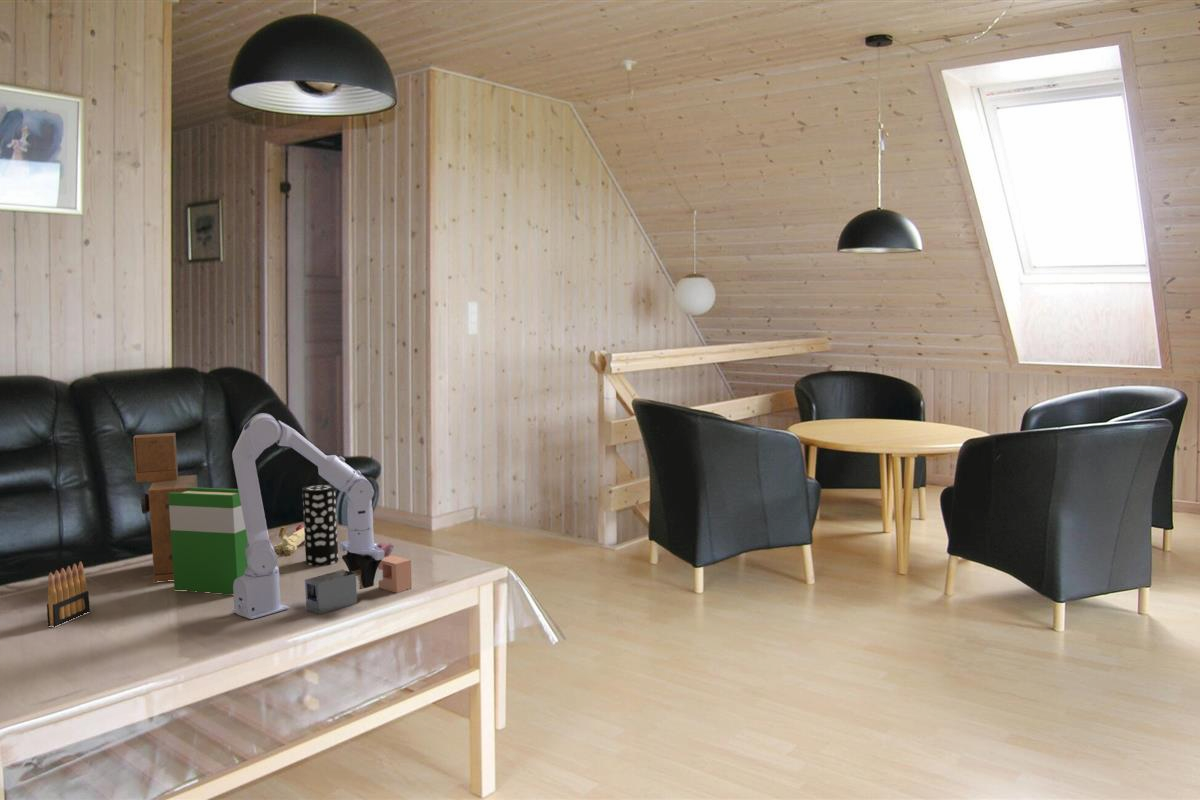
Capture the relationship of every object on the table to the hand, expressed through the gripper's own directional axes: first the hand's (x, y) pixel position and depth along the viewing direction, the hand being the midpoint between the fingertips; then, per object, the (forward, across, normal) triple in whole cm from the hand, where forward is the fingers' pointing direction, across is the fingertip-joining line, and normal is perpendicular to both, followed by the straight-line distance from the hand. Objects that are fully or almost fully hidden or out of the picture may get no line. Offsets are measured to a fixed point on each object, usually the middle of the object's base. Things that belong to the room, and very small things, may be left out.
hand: (363, 585), depth 228 cm
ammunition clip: (+3, +39, +50) cm, 63 cm away
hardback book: (+3, +35, +18) cm, 39 cm away
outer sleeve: (+3, 0, +9) cm, 9 cm away
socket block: (+3, 0, -9) cm, 10 cm away
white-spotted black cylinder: (+3, +35, -12) cm, 37 cm away
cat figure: (+3, +56, -21) cm, 60 cm away
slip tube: (0, 0, +4) cm, 4 cm away
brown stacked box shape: (+3, +59, +16) cm, 61 cm away
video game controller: (+3, +21, -20) cm, 29 cm away
